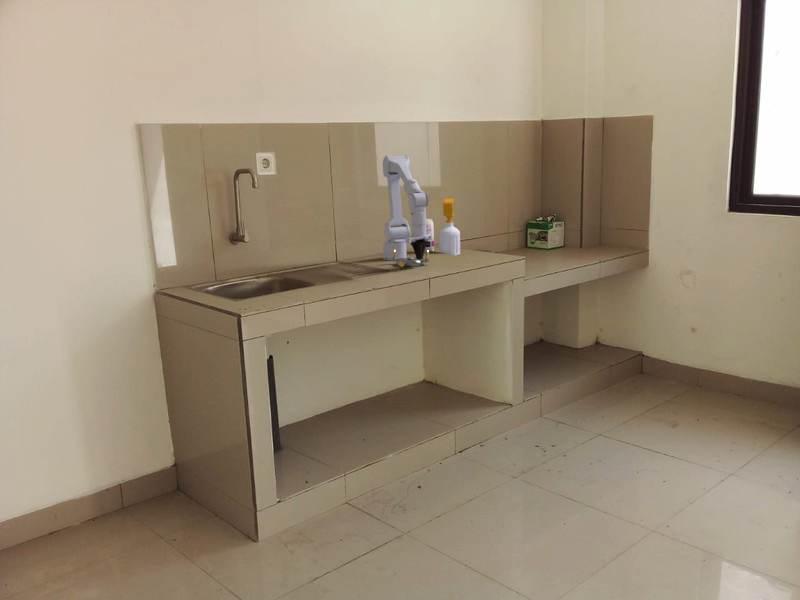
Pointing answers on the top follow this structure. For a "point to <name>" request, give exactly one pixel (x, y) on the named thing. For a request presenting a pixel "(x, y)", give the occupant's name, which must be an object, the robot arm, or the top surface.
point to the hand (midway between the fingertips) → (419, 259)
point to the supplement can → (431, 230)
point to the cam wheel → (410, 260)
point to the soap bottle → (449, 232)
